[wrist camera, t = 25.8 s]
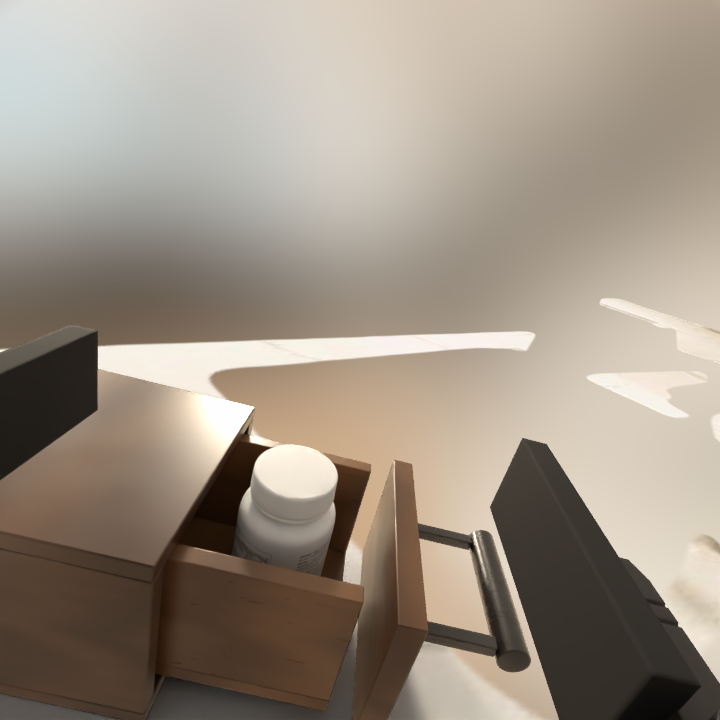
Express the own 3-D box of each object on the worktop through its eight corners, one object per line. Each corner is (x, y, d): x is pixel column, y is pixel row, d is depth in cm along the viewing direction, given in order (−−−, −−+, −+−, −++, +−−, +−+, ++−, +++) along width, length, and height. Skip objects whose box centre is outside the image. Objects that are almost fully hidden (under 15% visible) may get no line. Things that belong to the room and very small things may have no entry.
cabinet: (236, 524, 28) (255, 406, 25) (143, 725, 18) (154, 567, 14) (26, 475, 28) (15, 348, 24) (-201, 651, 17) (-281, 468, 13)
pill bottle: (309, 555, 25) (339, 442, 22) (317, 634, 21) (356, 509, 18) (228, 555, 24) (248, 435, 21) (220, 639, 19) (243, 505, 16)
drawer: (460, 574, 28) (502, 485, 25) (499, 772, 18) (575, 666, 15) (185, 509, 27) (195, 411, 24) (75, 680, 18) (69, 550, 15)
